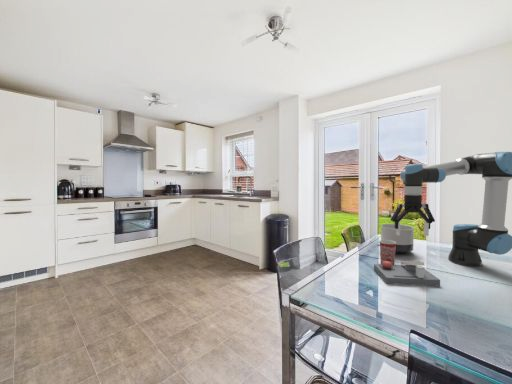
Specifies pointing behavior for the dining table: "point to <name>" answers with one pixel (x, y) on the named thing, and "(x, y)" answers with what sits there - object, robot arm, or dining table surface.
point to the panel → (405, 275)
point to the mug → (387, 250)
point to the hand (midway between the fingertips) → (411, 235)
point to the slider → (420, 271)
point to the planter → (399, 237)
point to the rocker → (412, 263)
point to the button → (387, 264)
